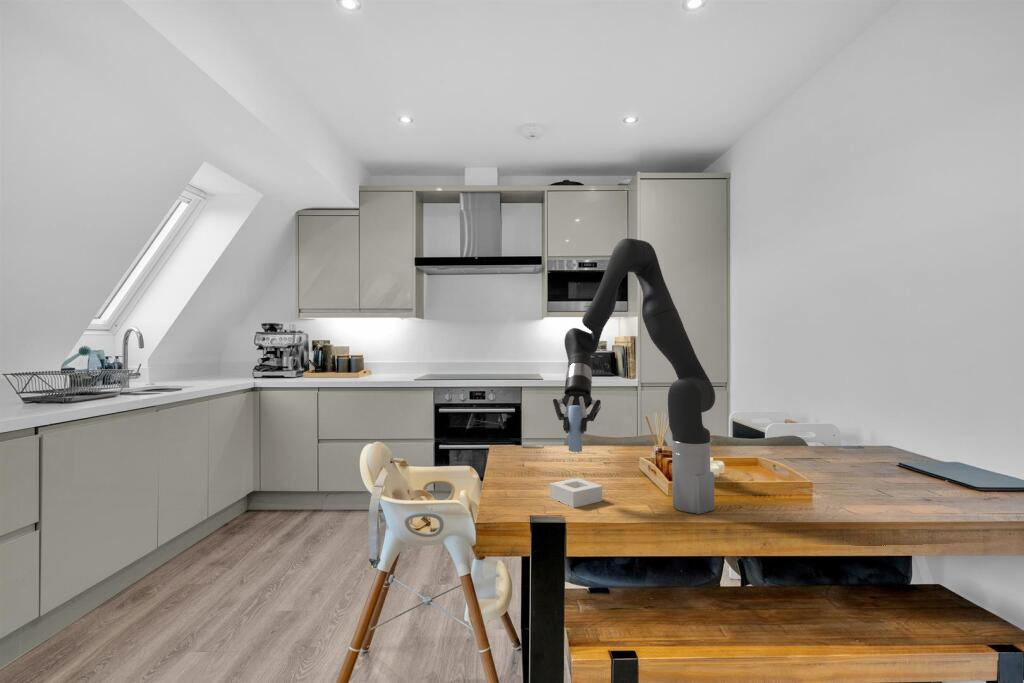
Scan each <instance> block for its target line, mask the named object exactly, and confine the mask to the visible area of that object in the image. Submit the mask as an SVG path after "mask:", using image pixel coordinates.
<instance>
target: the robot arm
mask: <svg viewBox="0 0 1024 683" xmlns="http://www.w3.org/2000/svg"><path fill="white" fill-rule="evenodd" d="M628 273H634V275H635V277H636V278H637V280H638V283H639V285H640V287H641V291H642V307H641V314H642V320H643V323H644V325H645V328H646V330H647V333H648V336H649V337H650V339H651V342H652V343H653V344H654V345H655V347H656V348H657V349H658V351H659V352H660V353H661V354H662V355H663V356H664V357H665V358H666V360H667V361H668V362H669V363H670V365H671V366H672V368H673V370H674V372H675V374H676V377H677V378H678V379H677V380H675V381H673V382H672V384H671V385H670V386H669V389H668V393H667V411H668V412H667V415H668V417H667V418H668V426H669V430H670V432H671V435H672V436H671V437H672V438H671V440H672V442H671V444H672V446H671V448H672V449H671V451H672V452H671V454H672V456H671V457H672V458H671V459H672V462H671V464H672V465H671V467H672V468H671V470H672V507H673V509H676V510H678V511H681V512H685V513H691V514H693V513H694V514H697V515H701V514H705V513H708V512H711V511H714V510H715V473H714V471H711V432H710V430H709V429H708V428H706V427H705V426H704V423H703V415H702V414H703V413H706V412H707V411H710V410H711V409H712V408H713V407H714V405H715V402H716V391H715V388H714V385H713V384H712V382H711V380H710V378H709V377H708V375H707V373H706V371H705V369H704V368H703V366H702V364H701V362H700V361H699V358H698V356H697V354H696V352H695V350H694V347H693V344H692V343H691V340H690V338H689V335H688V333H687V331H686V330H685V327H684V323H683V321H682V318H681V316H680V314H679V312H678V309H677V307H676V305H675V303H674V301H673V298H672V296H671V294H670V290H669V288H668V286H667V284H666V282H665V279H664V275H663V272H662V270H661V266H660V263H659V258H658V256H657V253H656V250H655V248H654V247H653V245H652V244H651V243H649V242H648V241H646V240H643V239H642V240H641V239H637V238H623V239H621V240H620V241H618V242H617V244H616V245H615V246H614V248H613V250H612V253H611V255H610V258H609V261H608V262H607V266H606V269H605V271H604V273H603V276H602V279H601V281H600V284H599V287H598V289H597V291H596V294H595V296H594V297H593V299H592V300H591V302H590V305H589V306H588V307H587V309H586V311H585V313H584V315H583V317H582V319H581V322H582V324H583V326H584V327H585V328H587V329H588V330H589V331H590V332H591V333H590V332H588V331H585V330H583V329H580V328H576V327H573V328H570V329H569V330H567V332H566V334H565V336H564V349H565V353H566V357H567V362H568V363H567V371H566V375H565V382H564V383H565V384H564V393H563V396H562V398H560V399H557V398H554V399H552V404H553V407H554V411H555V413H556V417H557V420H558V421H562V422H563V424H562V425H563V426H562V429H563V432H565V434H569V406H572V405H578V406H582V420H581V434H582V435H583V434H585V433H586V432H587V429H588V422H594V420H596V417H597V415H598V413H599V412H600V410H601V408H602V402H601V399H596V400H594V399H593V398H592V384H593V380H592V379H593V376H592V375H593V374H592V365H593V364H592V363H593V360H592V357H591V356H593V355H594V354H596V352H597V350H598V348H599V344H600V340H601V336H602V333H603V331H604V328H605V326H606V324H607V323H608V321H609V320H610V318H611V316H613V315H612V314H613V312H614V311H615V309H616V303H617V295H618V291H619V290H618V289H619V287H620V284H621V283H622V281H623V279H624V278H625V277H626V276H627V275H628ZM562 404H563V406H564V407H565V411H564V413H562V408H561V407H562ZM591 405H592V408H591V410H590V412H589V414H588V413H587V409H588V408H589V407H590V406H591Z"/></svg>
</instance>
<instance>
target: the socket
mask: <svg viewBox="0 0 1024 683" xmlns="http://www.w3.org/2000/svg"><path fill="white" fill-rule="evenodd" d="M549 498H550V499H551V498H553V499H552V500H554V499H555V500H554V501H556V500H557V502H559V501H560V502H559V503H561V502H562V504H563V503H564V505H566V506H568V505H569V507H571V508H578V507H582V506H586V505H587V506H588V505H590V504H595V503H598V502H603V485H601V484H598V483H594V482H592V481H588V480H587V479H582V478H579V477H576V478H570V479H566V480H560V481H556V482H551V483H549Z"/></svg>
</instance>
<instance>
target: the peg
mask: <svg viewBox="0 0 1024 683" xmlns="http://www.w3.org/2000/svg"><path fill="white" fill-rule="evenodd" d="M581 420H582V406H578V405H572V406H569V433H568V451H569V452H572V453H573V452H574V453H580V452H583V434H581Z"/></svg>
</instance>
